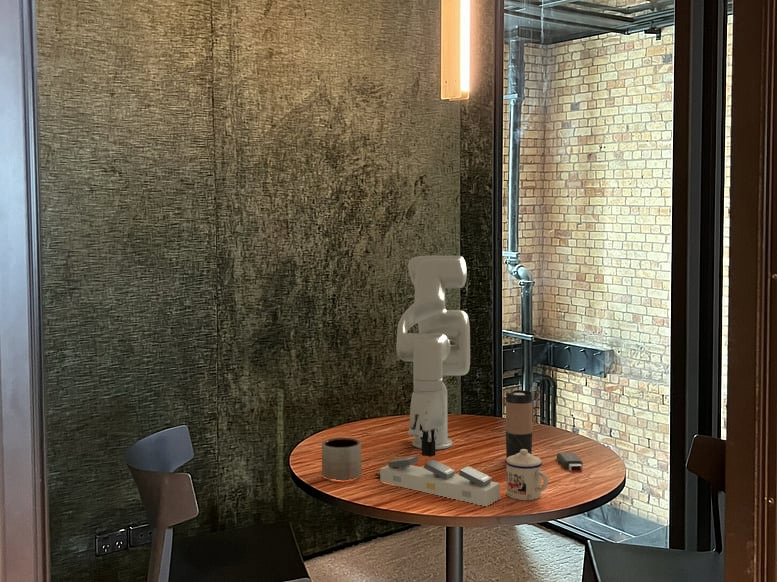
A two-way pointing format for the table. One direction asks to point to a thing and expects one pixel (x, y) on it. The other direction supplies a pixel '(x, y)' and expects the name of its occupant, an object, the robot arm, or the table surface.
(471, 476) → the rocker right
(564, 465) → the usb drive
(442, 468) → the rocker middle
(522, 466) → the teacup with lid
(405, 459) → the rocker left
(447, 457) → the table surface
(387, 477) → the power strip
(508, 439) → the travel mug
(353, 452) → the planter
